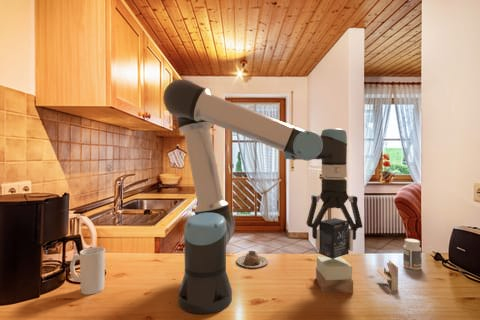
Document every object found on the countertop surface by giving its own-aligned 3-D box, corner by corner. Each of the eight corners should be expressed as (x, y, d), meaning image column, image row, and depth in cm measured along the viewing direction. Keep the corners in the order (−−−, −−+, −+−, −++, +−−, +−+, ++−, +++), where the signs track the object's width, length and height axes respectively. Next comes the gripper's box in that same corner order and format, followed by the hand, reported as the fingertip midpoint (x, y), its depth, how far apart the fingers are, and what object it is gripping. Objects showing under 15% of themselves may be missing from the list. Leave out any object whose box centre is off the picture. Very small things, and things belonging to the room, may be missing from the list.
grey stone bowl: (230, 263, 103) (230, 251, 103) (252, 255, 112) (252, 244, 112) (252, 273, 95) (252, 260, 95) (274, 263, 103) (274, 251, 103)
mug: (109, 284, 85) (109, 246, 85) (98, 295, 78) (98, 254, 78) (77, 284, 85) (76, 246, 85) (63, 295, 78) (63, 254, 78)
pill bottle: (421, 266, 100) (421, 239, 100) (421, 271, 95) (422, 243, 95) (403, 262, 103) (403, 237, 103) (403, 268, 98) (403, 241, 98)
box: (333, 259, 80) (333, 224, 80) (318, 254, 85) (318, 220, 85) (349, 254, 84) (349, 220, 84) (334, 249, 89) (334, 217, 89)
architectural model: (386, 291, 82) (386, 267, 82) (377, 280, 89) (377, 258, 89) (398, 291, 82) (398, 267, 82) (387, 281, 89) (387, 258, 88)
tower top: (325, 280, 80) (326, 266, 80) (316, 268, 88) (316, 256, 88) (351, 279, 81) (352, 266, 81) (340, 268, 89) (340, 256, 89)
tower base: (322, 292, 81) (322, 279, 81) (316, 279, 90) (316, 267, 90) (353, 293, 80) (353, 280, 80) (343, 280, 89) (343, 268, 89)
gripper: (300, 179, 82) (299, 252, 82) (375, 179, 80) (374, 254, 80) (297, 177, 89) (296, 244, 89) (365, 177, 87) (365, 246, 87)
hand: (333, 249), depth 85 cm, fingers closed on box, 9 cm apart
